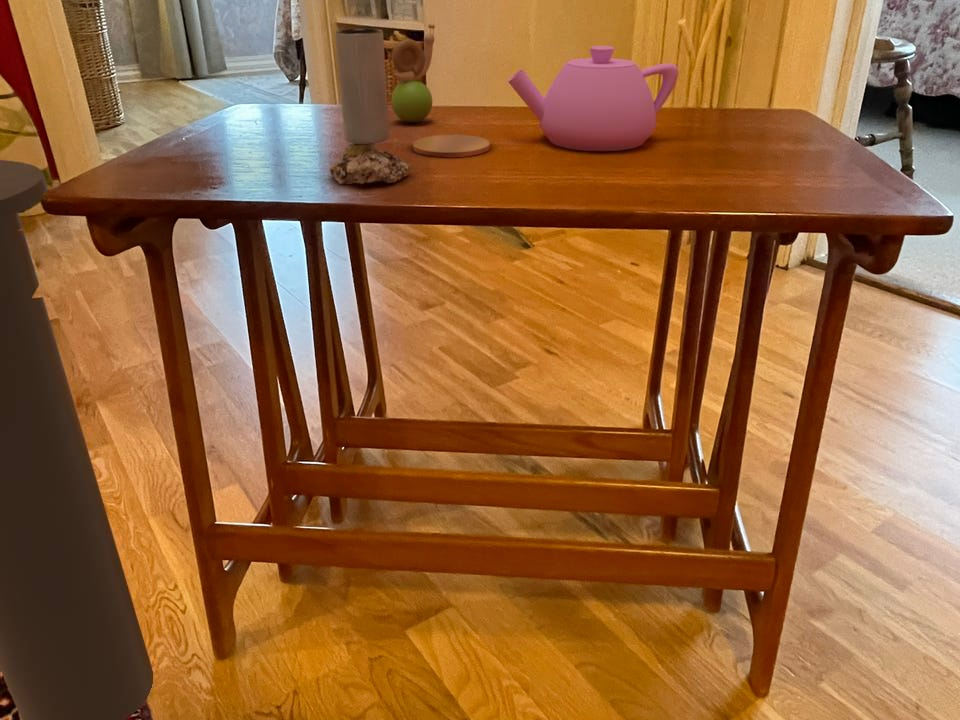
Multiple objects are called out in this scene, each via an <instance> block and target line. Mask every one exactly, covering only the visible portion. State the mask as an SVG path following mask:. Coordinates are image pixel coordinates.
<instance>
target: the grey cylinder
mask: <svg viewBox="0 0 960 720" xmlns="http://www.w3.org/2000/svg"><path fill="white" fill-rule="evenodd" d="M384 41H385V39H384V31H383V30H382V29H380V28H368V27H367V28H365V27H364V28H363V27H362V28H361V27H360V28H346V29H345V28H343V29H338V30H336V31H335V43H336V55H337V56H336V57H337V66H338V78H339V79H338V80H339V90H340V101H341V114H342V126H343V136H344V141H345V142H347V143H349V144H352V143H355V144H373V143H374V144H380V143H384V142H386V141H388V140H389V138H390V129H389V128H390V127H389V110H388V109H389V108H388V95H387V94H388V93H387V91H388V90H387V76H386V59H385V43H384Z"/></svg>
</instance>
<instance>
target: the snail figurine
mask: <svg viewBox="0 0 960 720" xmlns="http://www.w3.org/2000/svg"><path fill="white" fill-rule="evenodd" d="M427 27H428V29H430V32H429V33H426V34H425V35H424V37H423V42H424V47H422V46H421V44H420V43H418V42H417V41H415V40H414V39H411V38H406V39H402V40H400V41H399V42H397V43H396V45H394V48H393V49H392V52H391V62H392V65H393V68H394V69H395V70H396V72H394V73H393V77H394V78H396V79H397V80H398V81H399V82H400V83H398V84H397V85H396V86H395V88H394V89H393V91H392V94H391V99H390V101H391V103H390V104H391V107H392V111H393V112H394V113H395V115H396V116H397V118H399V119H400V120H402V122H405V123H409V124H410V123H411V124H414V123H420V122H421V121H423V120H425V119H426V118H427V117H428V116H429V114H430V113H431V111H432V107H433V95H432V93H431V91H430V89H429V88H428V86H427V85H426V84H424V83H423V82H421V81H419V80H420V79H421V78H423V77H424V76H425V75H426V74H427V72H428V71H429V68H430V66H431V62H432V59H433V58H432V57H433V52H434V51H433V49H434V43H435V35H434V33H435V31H434V30H435V28H436V25H435V23H434V24H433V23H428V24H427Z"/></svg>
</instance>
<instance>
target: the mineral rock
mask: <svg viewBox="0 0 960 720" xmlns="http://www.w3.org/2000/svg"><path fill="white" fill-rule="evenodd" d="M409 169H411V165H410V164H408V163H407V162H404V161H403V159H402V158H401V157H400V156H397V155H396V154H391V153H390V152H389V151H387V150H385V151H381V150H380V149H378V148H377V147H376V144H375V143H373V144H355V143H349V144H348V145H347V147H346V148H345V150H344V151H343V152H342V156H341V158H340V159H339V160H338V162H336V163H334V164H333V165H332V166H331V167H329V170H328V171H329V172H330V174H331V175H332V179H334V180H335V182H337V183H338V184H340V185H351V184H360V185H364V184H366V185H369V184H372V183H376V182H384V183H387V184H391V183H396V182H397V181H400V180H401V179H402V178H406V177H408V175H409Z"/></svg>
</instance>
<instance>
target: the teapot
mask: <svg viewBox="0 0 960 720" xmlns="http://www.w3.org/2000/svg"><path fill="white" fill-rule="evenodd" d="M614 50H615V47H613V46H610V45H593V46H590V47H589V52H590V56H591V57H587V58H586V57H584V58H575V59H570V60H568V61H566V62H565V63H564V64H563V66H562V67H561V68H560V70H559V71H558V73H557V75H556V76H555V78H554V79H553V81H552V83H551V85H550V86H549V88H548V90H547V92H546V94H545V97H544V96H543V94H542V93H541V92H540V90H539V89H538V88H537V86H536V84H534V82H533V80H532V79H531V77H530V76H529V75H528V73H526V71H525V69H524V68H521V69H519V70H518V71H517V72H515V73H514V74H513V75H512V76H511V77H510V78H509V79H508V80H507V82H508V84H509V85H510V86H511V87H512V89H513V90H514V91H515V92H516V94H517V95H518V96H519V97H520V99H521V100H522V101H523V103H525V105H526V106H527V108H528V109H529V110H531V113H532V114H533V115H534V116H535V117H536V118H537V120H539V127H540V129H541V131H542V133H543V134H544V135H545V136H546V138H547V139H548V140H549V141H550V143H551V144H553V145H555V146H557V147H561V148H565V149H568V150H569V149H570V150H575V151H584V152H585V151H586V152H617V151H626V150H630V149H635V148H639V147H640V146H642V145H643V144H644V143H645V142H646V141H647V140H648V139H649V137H650V136H651V135H652V134H653V133H654V131H655V129H656V125H657V114H659V111H660V110H661V109H662V107H663V105H665V103H666V101H667V100H668V98H669V97H670V95H671V93H672V92H673V90H674V89H675V86H676V84H677V81H678V78H679V72H680V71H679V68H678V66H677V65H676V64H674V63H670V62H667V63H659V64H656V65H651V66H648V67H645V68H643V69H641V68H640V66H639V65H638V64H637V63H636V62H635V61H633V60H629V59H622V58H615V57H614V58H612V57H613V54H614ZM653 75H661V76H662V81H661V85H660V88H659V90H658V93H657V95H656V98H655V99H654V97H653V94H652V91H651V88H650V87H649V84H648V82H647V80H646V78H647V77H650V76H653Z"/></svg>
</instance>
